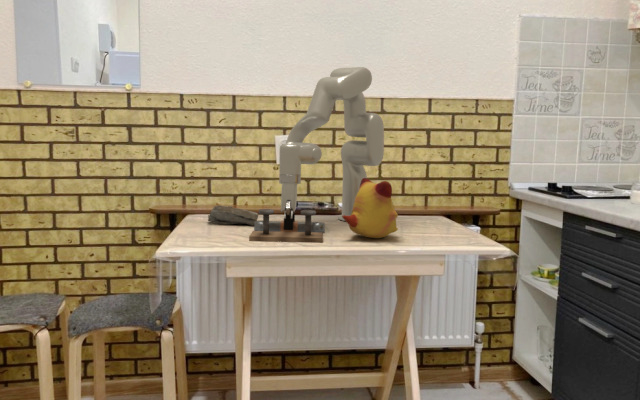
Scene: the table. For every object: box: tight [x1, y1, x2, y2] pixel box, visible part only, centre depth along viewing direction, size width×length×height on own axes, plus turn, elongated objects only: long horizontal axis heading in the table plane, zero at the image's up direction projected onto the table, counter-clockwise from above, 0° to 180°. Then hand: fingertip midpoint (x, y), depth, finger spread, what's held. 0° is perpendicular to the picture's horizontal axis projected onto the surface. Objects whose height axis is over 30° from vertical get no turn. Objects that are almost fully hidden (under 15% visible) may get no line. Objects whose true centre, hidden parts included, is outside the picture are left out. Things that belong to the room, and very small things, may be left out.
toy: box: [342, 177, 399, 239], centre depth 194 cm, size 20×21×20 cm
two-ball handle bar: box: [253, 219, 326, 234], centre depth 204 cm, size 25×5×4 cm, turn 89°
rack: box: [248, 208, 324, 243], centre depth 191 cm, size 24×9×10 cm, turn 89°
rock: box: [207, 204, 259, 226], centre depth 216 cm, size 11×18×10 cm, turn 87°
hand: (289, 227), depth 204 cm, fingers open, 9 cm apart
